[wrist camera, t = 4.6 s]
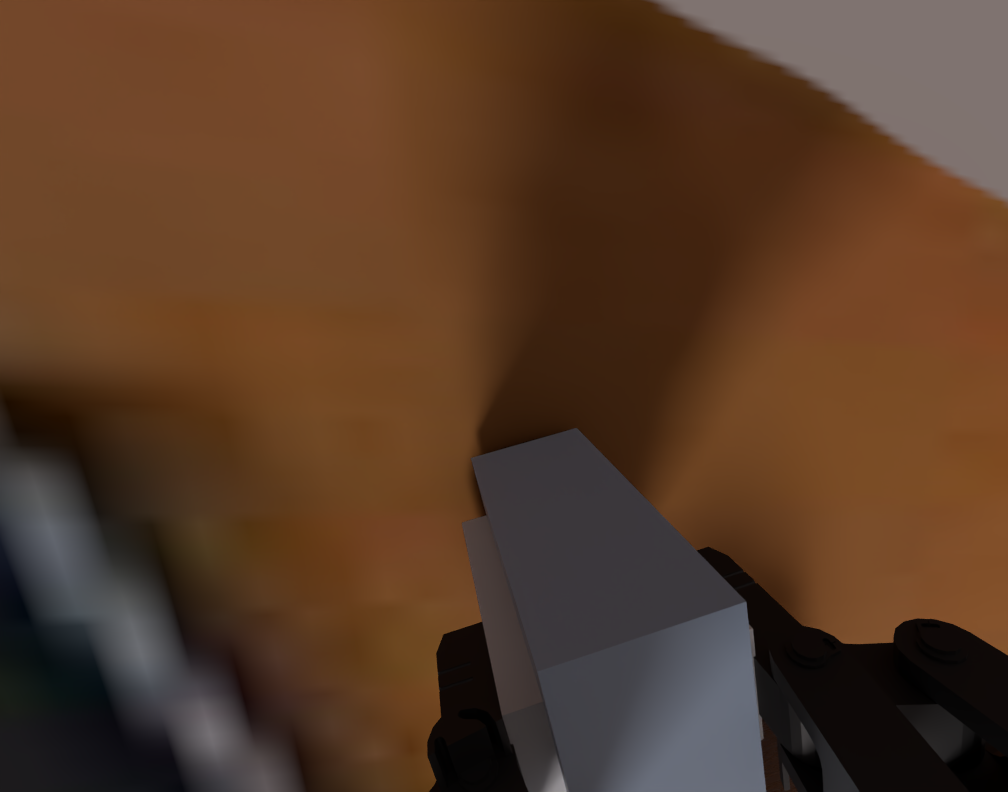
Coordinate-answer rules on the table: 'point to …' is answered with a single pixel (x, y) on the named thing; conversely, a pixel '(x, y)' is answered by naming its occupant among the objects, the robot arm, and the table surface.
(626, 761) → the block
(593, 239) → the table surface
